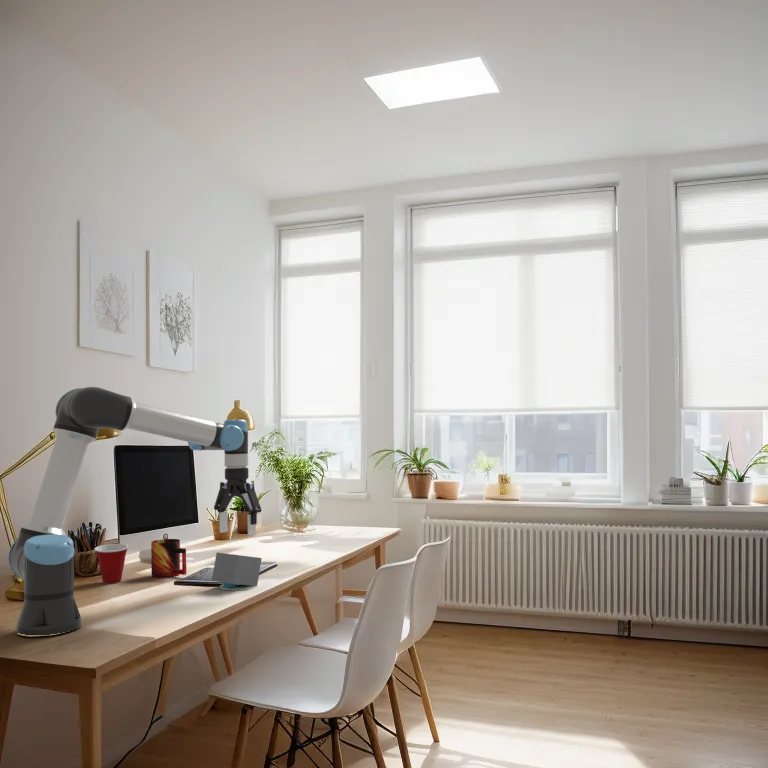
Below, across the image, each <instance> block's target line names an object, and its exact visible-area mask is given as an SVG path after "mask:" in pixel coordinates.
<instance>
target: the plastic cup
mask: <svg viewBox="0 0 768 768" xmlns="http://www.w3.org/2000/svg"><path fill="white" fill-rule="evenodd" d="M128 549H129V544H125V543H107V544H102V545H98V546H96V547H95V548H94V550H95V552H96V555H97V556H96V557H97V558H98V565H99V570H100V573H101V580H102V583H103V584H109V583H110V584H117V583H120V582H121V581H122V577H123V571H124V566H125V561H126V555H127V551H128Z"/></svg>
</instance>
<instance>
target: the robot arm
mask: <svg viewBox="0 0 768 768" xmlns="http://www.w3.org/2000/svg"><path fill="white" fill-rule="evenodd" d="M55 417H56V418H55V423H54V426H53V428H52V430H53V432H54V434H55V436H56V438H55V440H54V441H55V442H54V444H53V447H52V449H51V453H50V456H49V460H48V463H47V465H46V469H45V472H44V475H43V478H42V482H41V485H40V488H39V491H38V494H37V498H36V499H35V500H36V501H35V504H34V507H33V510H32V513H31V516H30V518H29V521H28V522H26V523H24V524H23V525H21V528H20V530H19V533H18V537H17V539H16V540H15V541H14V542H13V543H12V545H11V546H10V548H9V551H8V555H7V562H8V567H9V568H10V570H11V571H12V572H13V574H14V575H15V576H16V577H17V578H20V579H21V580H23V582H24V583H23V585H24V586H23V589H24V590H23V593H24V595H23V597H24V600H23V605H22V608H21V611H20V613H19V616H18V620H17V622H16V628H15V629H16V632H17V633H20V634H25V635H50V634H57V633H63V632H68V631H72V632H74V631H73V630H75V629H77V630H78V628H79V627H80V628H81V627H82V616H81V613H80V610H79V609H78V605H77V603H76V599H75V593H74V592H75V591H74V586H75V585H74V584H75V580H74V579H75V576H74V575H75V569H74V567H75V547H74V541H73V539H72V538H71V537H70V536H67V534H66V532H65V531H64V528H63V527H64V523H65V520H66V518H67V514H68V511H69V508H70V504H71V501H72V497H73V495H74V492H75V488H76V485H77V483H78V478H79V475H80V472H81V468H82V465H83V462H84V459H85V457H86V456H85V455H86V453H87V449H88V446H89V445H90V444H92V443H93V442H95V441H96V439H97V435H98V433H99V429H111V430H116V431H121V432H122V431H124V430H126V429H130V430H133V431H138V432H143V433H145V434H152V435H156V436H160V437H165V438H168V439H169V438H170V439H174V440H178V441H182V442H187V443H188V444H187V445H188V447H189V449H190V450H192V451H224V466H225V468H224V479H225V480H226V481H220V483H219V490H218V493H217V496H216V500H215V503H214V506H213V510H214V511H217V513H218V522H219V533H221V534H223V533H227V532H228V530H229V529H228V527H229V526H228V525H229V523H228V510H227V508H228V507H229V505H230V503H231V501H232V500H233V498H234V497H239V498H240V499H241V501H242V503H243V504H244V507H245V508H246V510H247V513H248V514H247V536H255V535H257V530H256V528H257V527H256V526H257V523H258V522H257V521H258V520H257V517H258V516H257V515H258V513H261V512H262V511H263V510H262V507H261V504H260V502H259V498H258V496H257V492H256V490H255V483H254V482H253V481H252V482H247V480H248V479H249V477H250V475H249V468H248V467H247V466H249V425H248V422H247V420H245V419H225V420H224V422H223V423H220V422H215V421H212V420H208V419H204V418H200V417H196V416H192V415H188V414H184V413H180V412H175V411H171V410H168V409H164V408H159V407H156V406H152V405H148V404H143V403H140V402H136V401H135V400H134V399H133V398H132V397H131V396H126V395H124V394H120V393H117V392H114V391H111V390H107V389H106V388H102V387H97V386H87V387H83V388H82V387H81V388H80V387H78V388H75V389H71V390H69V391H67V392H66V393H64V394H63V395H62V396H61V397H60V398H59V399H58V401H57V403H56V406H55ZM80 628H79V629H80ZM75 631H76V630H75Z"/></svg>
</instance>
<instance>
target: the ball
mask: <svg viewBox="0 0 768 768" xmlns="http://www.w3.org/2000/svg"><path fill="white" fill-rule="evenodd" d="M221 583H222V585H224V586H225V587H226V588H233V587H235V586H236V585H237V584H230V583H224V582H221Z"/></svg>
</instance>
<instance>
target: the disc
mask: <svg viewBox="0 0 768 768" xmlns="http://www.w3.org/2000/svg"><path fill="white" fill-rule="evenodd" d="M254 588H257V586H250V585H239V586H235V587H233V588H226V587H225V586H224V585H223V584H221V585H219V586H218V589H220V590H223V591H243V590H249V589H254Z"/></svg>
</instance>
